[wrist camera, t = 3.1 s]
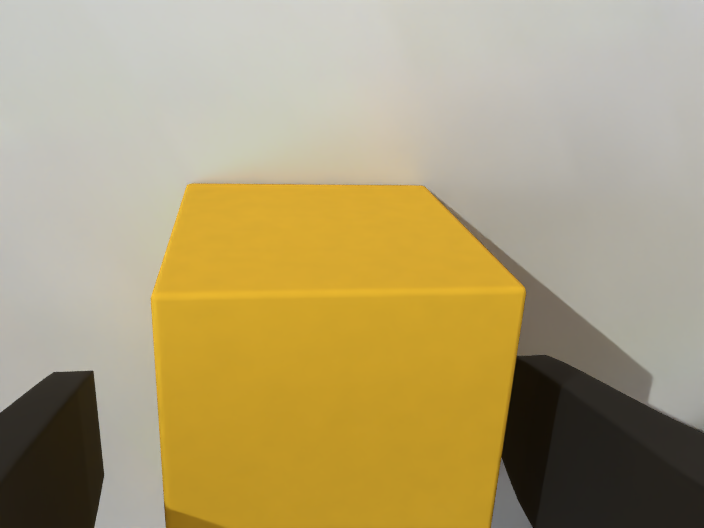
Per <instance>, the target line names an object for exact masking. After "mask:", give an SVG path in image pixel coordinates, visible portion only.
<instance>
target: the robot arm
mask: <svg viewBox="0 0 704 528" xmlns="http://www.w3.org/2000/svg"><path fill="white" fill-rule="evenodd" d="M501 457H502V460H503V463H504V465H505V468H506V471H507V473H508V476H509V479H510V481H511V484H512V486H513V489H514V491H515V494H516V496H517V499H518V501H519V503H520V505H521V507H522V509H523V511H524V512H525V514H526V516H527V518H528V520H529V522H530V523H531V525H532V527H533V528H704V433H701V432H699V431H697V430H695V429H693V428H691V427H689V426H687V425H684V424H682V423H680V422H678V421H676V420H674V419H672V418H670V417H668V416H666V415H664V414H662V413H660V412H658V411H656V410H654V409H652V408H650V407H648V406H646V405H644V404H642V403H640V402H638V401H636V400H635V399H633V398H631V397H629V396H627V395H625V394H623V393H621V392H619V391H618V390H616V389H614V388H612V387H610V386H608V385H606V384H604V383H603V382H601V381H599V380H597V379H595V378H593V377H591V376H589V375H588V374H586V373H584V372H582V371H580V370H578V369H576V368H574V367H572V366H570V365H568V364H566V363H564V362H562V361H559V360H557V359H555V358H552V357H550V356H547V355H534V356H517V357H516V363H515V370H514V377H513V383H512V390H511V397H510V403H509V410H508V416H507V423H506V430H505V436H504V443H503V449H502V456H501ZM103 478H104V469H103V459H102V450H101V440H100V430H99V421H98V411H97V401H96V392H95V382H94V372H93V371H74V372H53V373H52V374H51V375H49V376H48V377H46V378H45V379H43V380H42V381H41V382H39V383H38V384H37V385H35V386H34V387H33V388H32V389H30V390H29V391H28V392H26V393H25V394H24V395H23V396H21V397H20V398H19V399H18V400H16V401H15V402H14V403H12V404H11V405H10V406H9V407H7V408H6V409H5V410H3V411H2V412H1V413H0V528H94V525H95V521H96V516H97V511H98V506H99V500H100V495H101V489H102V484H103Z"/></svg>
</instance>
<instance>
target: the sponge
mask: <svg viewBox="0 0 704 528" xmlns="http://www.w3.org/2000/svg"><path fill="white" fill-rule="evenodd" d="M525 297H526V290H525V287H524V286H523V285H522V284H521V283H520V282H519V281H518V280H517V279H516V278H515V277H514V276H513V275H512V274H511V273H510V272H509V271H508V270H507V269H506V268H505V267H504V266H503V265H502V264H501V263H500V262H499V261H498V260H497V259H496V258H495V257H494V256H493V255H492V254H491V253H490V252H489V251H488V250H487V249H486V248H485V247H484V246H483V245H482V244H481V243H480V242H479V241H478V240H477V239H476V238H475V237H474V236H473V235H472V234H471V233H470V232H469V231H468V230H467V229H466V228H465V227H464V226H463V225H462V224H461V223H460V221H459V220H458V219H457V218H456V217H455V216H454V215H453V214H452V213H451V212H450V211H449V210H448V209H447V208H446V207H445V206H444V205H443V204H442V203H441V202H440V201H439V200H438V199H437V198H436V197H435V196H434V195H433V194H432V193H431V192H430V191H429V190H428V189H427V188H426V187H424V186H412V185H296V184H189V185H187V187H186V190H185V193H184V196H183V199H182V202H181V205H180V208H179V212H178V215H177V218H176V221H175V224H174V227H173V230H172V233H171V237H170V240H169V243H168V246H167V249H166V252H165V255H164V258H163V262H162V265H161V268H160V271H159V274H158V277H157V280H156V284H155V287H154V290H153V293H152V296H151V310H152V325H153V340H154V355H155V370H156V385H157V401H158V416H159V431H160V446H161V461H162V476H163V492H164V507H165V522H166V528H491V522H492V516H493V509H494V502H495V496H496V489H497V483H498V476H499V469H500V463H501V456H502V449H503V443H504V436H505V430H506V423H507V416H508V410H509V403H510V397H511V390H512V383H513V377H514V370H515V363H516V357H517V350H518V344H519V337H520V330H521V324H522V317H523V311H524V304H525Z"/></svg>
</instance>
